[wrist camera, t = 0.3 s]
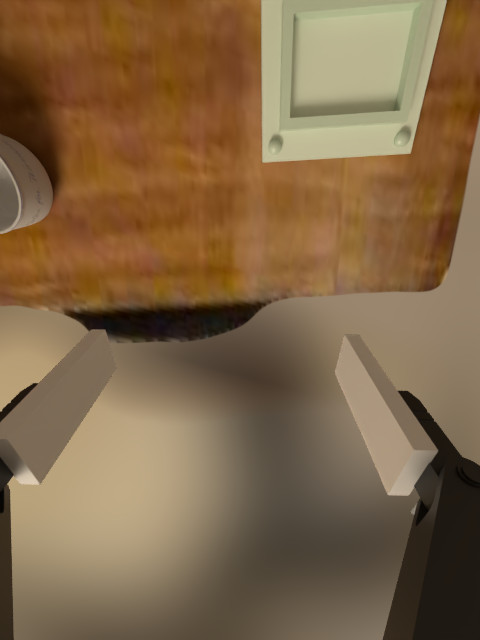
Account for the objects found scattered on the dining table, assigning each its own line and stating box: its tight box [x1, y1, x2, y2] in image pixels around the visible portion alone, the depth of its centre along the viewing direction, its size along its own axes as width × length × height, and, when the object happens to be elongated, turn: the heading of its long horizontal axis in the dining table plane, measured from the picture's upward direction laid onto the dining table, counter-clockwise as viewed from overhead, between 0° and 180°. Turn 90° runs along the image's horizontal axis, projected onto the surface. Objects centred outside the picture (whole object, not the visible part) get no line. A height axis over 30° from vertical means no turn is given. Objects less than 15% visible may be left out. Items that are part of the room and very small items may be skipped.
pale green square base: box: [261, 0, 447, 163], centre depth 27 cm, size 16×18×3 cm
